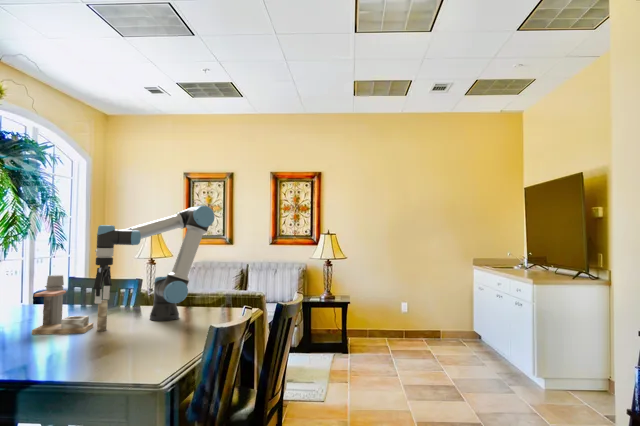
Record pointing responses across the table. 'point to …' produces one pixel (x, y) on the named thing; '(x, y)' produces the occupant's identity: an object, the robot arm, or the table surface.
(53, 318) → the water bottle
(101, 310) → the peg
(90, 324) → the socket station
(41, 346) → the table surface
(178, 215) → the robot arm
